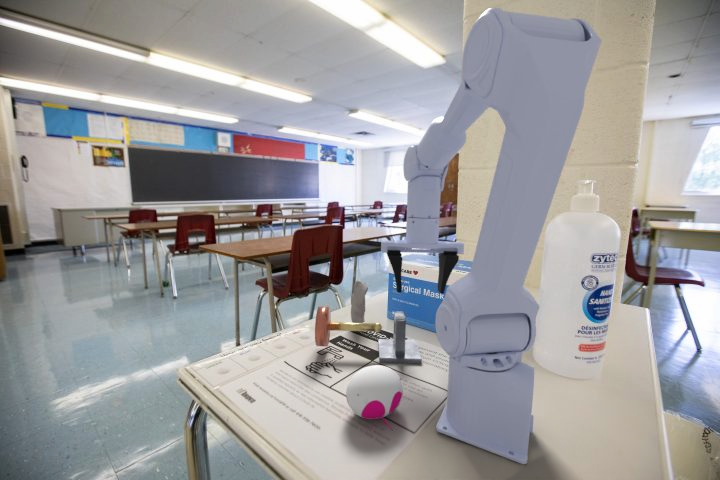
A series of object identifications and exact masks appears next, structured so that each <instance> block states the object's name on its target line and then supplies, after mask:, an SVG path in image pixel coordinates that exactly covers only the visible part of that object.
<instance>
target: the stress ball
mask: <svg viewBox="0 0 720 480" xmlns="http://www.w3.org/2000/svg"><path fill="white" fill-rule="evenodd" d="M403 386H404V385H403V382H402V377H401V378H400V376H399V374H397V373H396V371H394V370H393V369H392V368H390V367H388V366H385V365H379V364H378V365H376V364H375V365H374V364H373V365H368V366H365V367H363V368H361V369H360V370H358V371H357V372H356V373H354V374H353V376H351V378H350V380H349V381H348V384H347V386H346V392H345V397H346V402H347V404H348V407H349V408H350V409H351V411H352V412H353V413H354V414H356V415H357V416H359V417H360V418H363V419H367V420H377V419H381V420H382V421H383V422H384V423H385V424H386V425H387V427H389V428H390V430H391V431H393V429H392V428H391V426H390V425H389V424H388V422H387V421H386V419H385V418H384V417H387V416H389V415H391V413H393V412H394V411H395V410H396V408H398V406H399V405H400V402H401V400H402V397H403V393H404V389H403Z"/></svg>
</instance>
